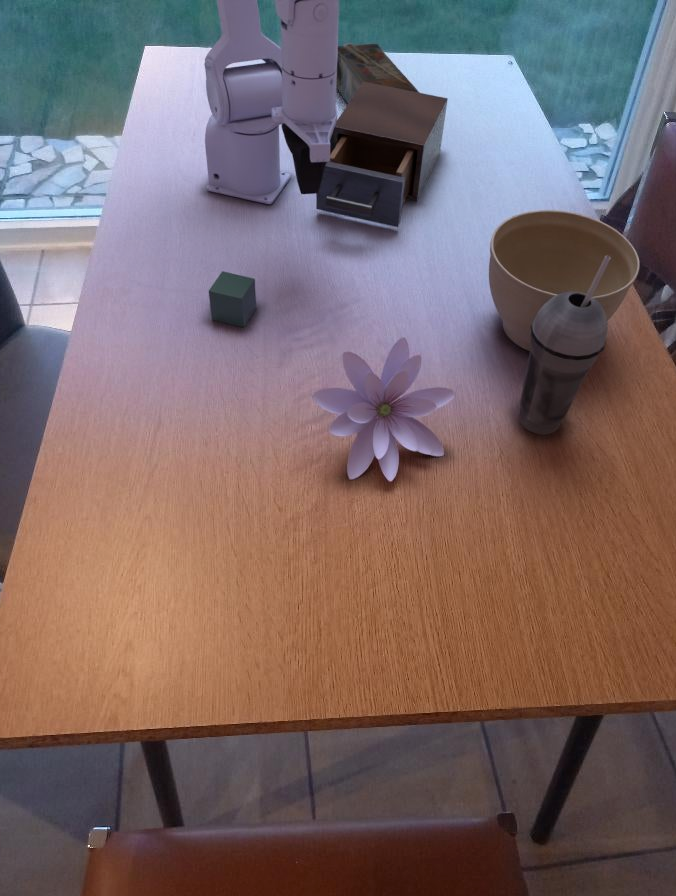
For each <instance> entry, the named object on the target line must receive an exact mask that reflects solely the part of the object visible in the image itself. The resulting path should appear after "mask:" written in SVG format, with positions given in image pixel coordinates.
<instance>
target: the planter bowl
mask: <svg viewBox="0 0 676 896" xmlns="http://www.w3.org/2000/svg"><path fill="white" fill-rule="evenodd" d="M489 256H490V257H489V262H488V283H489V290H490V295H491V298H492V302H493V304H494V307H495V310H496V312H497V314H498V315H499V317H500V319H501V321H502V328H503V332H505V335H506V336H507V337H508V339H510V340H511V342H513V343H514V344H515V345H517V347H520V348H522V349H524V350H526V351H528V352H530V337H531V325H532V323H533V320H534V319H535V318H536V316H537V314H538V312H539V310H540V309H541V307H542V306H543V305H544V304H545V303H546V302H548V301H549V300H550V299H551V298H553V297H554V296H556V295H559V294H561V293H565V292H572V291H574V292H581V293H585V294H587V293H588V291H589V289H590V287H591V285H592V283H593V280H594V278H595V276H596V274H597V272H598V270H599V268H600V266H601V264H602V262H603V260H604V258H605V256H609V257H610V261H609V263H608V265H607V267H606V269H605V271H604V273H603V275H602V277H601V279H600V281H599V283H598V285H597V287H596V289H595V291H594V293H593V295H592V297H593V298H594V299H595V300H596V301H597V302H598V303H599V304H600V305H601V307H602V308H603V310H604V312H605V315H606V319H607V322H608V321H609V320H610V319H611V318H612V317H613V315H614V314H615V313H616V312H617V311H618V309H619V308H620V306H621V305H622V303H623V301H624V300H625V298H626V296H627V294H628V292H629V290H630V288H631V287H632V286H633V284H634V283H635V281H636V279H637V278H638V275H639V271H640V258H639V255H638V252H637V251H636V249H635V247H634V246H633V244H632V243H631V242H630V240H629V239H627V238H626V237H625V236H624V235H623V234H622V233H620V232H619V231H618V230H617V229H616V228H614V227H612V226H611V225H609V224H607V223H605V222H603V221H601V220H599V219H596V218H594V217H591V216H587V215H585V214H581V213H577V212H574V211H573V212H572V211H567V210H556V209H539V210H531V211H526V212H521V213H518V214H515V215H512V216H510V217H508V218H506V219H505V220H503V221H502V222H501V223H500V224H499V225H497V227H496V228H495V230H494V231H493V233H492V235H491V238H490V245H489Z"/></svg>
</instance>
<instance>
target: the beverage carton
mask: <svg viewBox="0 0 676 896" xmlns="http://www.w3.org/2000/svg"><path fill="white" fill-rule="evenodd" d="M363 82H368V83H373V84H378V85H383V86H388V87H393V88H398V89H403V90H408V91H413V92H418V93H421V92H420V91H419V90H418V89H417V87H415V85H414V84H413V83H412V82H411V81H410V80H409V79H408V78H407V77H406V75H404V74H403V72H402V71H401V70H400V69H399V68H398V67H397V65H396V64H395V63H394V62H393V61H392V60H391V58H390V57H389V55H387V54H386V53H385V52H384V51H383V49H382V47H380V46H379V44H377V43H367V44H365V43H364V44H354V43H350V42H347V43H344V45H338V54H337V82H336V90H337V91H338V92H339V93H340V95H341V96H342V98H343V99H344V101H346V103H347V105H348V104H349V102H350V101H351V99H352V98H353V96H354V95H355V93H356V92H357V90H358V89H359V87H360V86H361V85H362V83H363Z"/></svg>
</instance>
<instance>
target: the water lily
mask: <svg viewBox="0 0 676 896" xmlns="http://www.w3.org/2000/svg"><path fill="white" fill-rule="evenodd" d="M342 366H343V369H344V373H345V375H346V378H347V379H348V380H349V382H350V384H351V385H352V387H353V389H350V388H346V387H345V388H344V387H338V386H337V387H333V386H332V387H327V388H326V387H325V388H322V389H319V390H316V391H315V392H313V393H312V394H311V398H312V400H313V401H314V402H315V404H316V405H317V406H319V408H321V409H323V410H324V411H327V412H329V413H331V414H334V415H338V416H336V418H335V419H334V420H333V421H331V424H330V425H329V426H328V432H329V434H330V435H333V436H336V437H351V436H352V435H356V436H355V438H354V440H353V442H352V445H351V447H350V451H349V453H348V458H347V465H346V472H347V477H348V479H349V480H356V479H357V478H359V477H360V476H362V475H363V474H364V473H365V472H366V471H367V469H368V468H369V467H370V465H371V464H372V462H373V460H374V459H375V458H376V459H377V460H378V464H379V467H380V469H381V472H382V474H383V476H384V477H385V478H386V480H387V481H388V482H390V483H391V482H393V480H394V479H395V478H396V475H397V473H398V469H399V465H400V464H399V462H400V456H399V447H398V443H399V444H400V445H401V446H402V447H404V448H405V449H407V450H410V451H412V452H418V453H420V454H424V455H430V456H432V457H443V456H444V455H445V449H444V447H443V444H442V442H441V441H440V439H439V438H438V436H437V435H436V434H435V433H434V432H433V431H432V430H431V428H429V427H428V426H426V425H425V424H424V423H423V422H421V421H419V420H418V419H416V418H424V417H426V416H429V415H431V414H432V413H433V412H434V411H435V410H437V409H440V408H442V407H444V406H446V405H447V404H448V403H450V402H451V401H452V400H453V399H454V398H455V396H456V394H457V392H456V391H455V390H453V389H452V388H448V387H444V386H443V387H442V386H432V387H426V388H422V389H418V390H414V391H411V392H409V393H407V394H405V393H406V392H407V391H408V390H409V389H410V388H411V387H412V385H413V383H414V382H415V381H416V379H417V377H418V375H419V373H420V370H421V367H422V356H421V355H420V354H416V355H413V356H412V357H410V347H409V343H408V340H407V338H406V337H405V336H401V337H400V338H399V339H398V340H397V341H395V343H394V344H393V346H392V347H391V349H390V350H389V352H388V354H387V356H386V359H385V362H384V364H383V368H382V371H381V375H380V377H379V376H378V375H377V374H375V372H374V371H373V369H372V368H371V366H370V365H369V363H367V361H365V359H363V358H362V357H361V356H359V354H357V353H354V352H352V351H349V350H347V351H346V350H345V351H343V352H342ZM404 394H405V395H404Z"/></svg>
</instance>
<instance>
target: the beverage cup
mask: <svg viewBox="0 0 676 896" xmlns="http://www.w3.org/2000/svg"><path fill="white" fill-rule="evenodd" d="M609 261H610V257H609V256H605V258H604V260H603V262H602V264H601V266H600V268H599V270H598V272H597V274H596V276H595V278H594V280H593V283H592V285H591V287H590V289H589V291H588V293H587V294H585V293H581V292H574V291H572V292H565V293H561V294H559V295H556V296H554V297H553V298H551V299H550V300H549V301H548V302H546V303H545V304H544V305H543V306H542V307H541V309H540V310H539V312H538V314H537V316H536V318H535V319H534V320H533V323H532V325H531V337H530V351H529V353H528V359H527V360H528V361H527V365H526V370H525V375H524V379H523V380H524V381H523V385H522V390H521V397H520V402H519V413H518V421H519V422H520V424H521V426H522V427H523V428H524V429H526V430H527V431H529V432H531V433H534V434H537V435H550V434H552V433H554V432H555V433H556V431H557V430H558V429H559V427H560V425H561V424H562V422H563V420H564V419H565V418H566V415H568V412H569V410H570V408H571V406H572V404H573V403H574V400H575V398H576V396H577V394H578V393H579V391H580V389H581V386H582V384H583V382H584V380H585V378H586V377H587V374H588V373H589V371H590V369H591V367H592V366H593V365H594V364H595V362H596V361H597V359H598V358H599V357H600V355H601V353H602V352H603V351H604V350H605V347H606V344H607V337H608V336H607V335H608V332H609V331H608V330H609V328H608V321H607V319H606V315H605V312H604V310H603V308H602V307H601V305H600V304H599V303H598V302H597V301H596V300H595V299H594V298H593V297H592V295H593V293H594V291H595V289H596V287H597V285H598V283H599V281H600V279H601V277H602V275H603V273H604V271H605V269H606V267H607V265H608V263H609Z"/></svg>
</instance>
